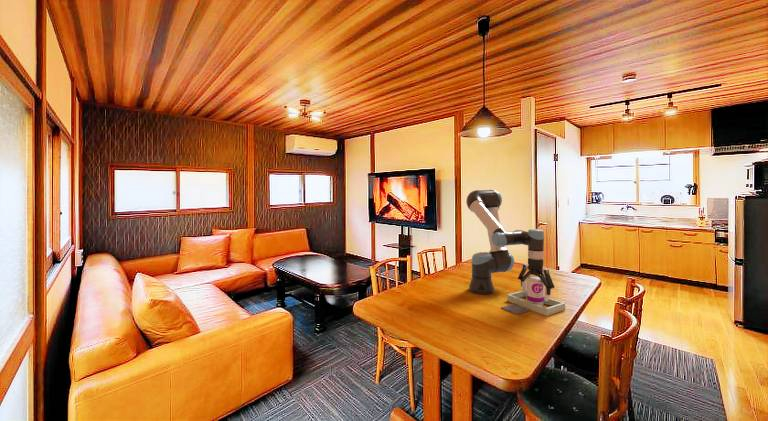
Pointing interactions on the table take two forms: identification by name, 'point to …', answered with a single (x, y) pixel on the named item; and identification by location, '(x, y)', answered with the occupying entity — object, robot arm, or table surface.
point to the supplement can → (535, 290)
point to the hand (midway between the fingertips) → (535, 296)
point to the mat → (515, 309)
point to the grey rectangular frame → (555, 305)
